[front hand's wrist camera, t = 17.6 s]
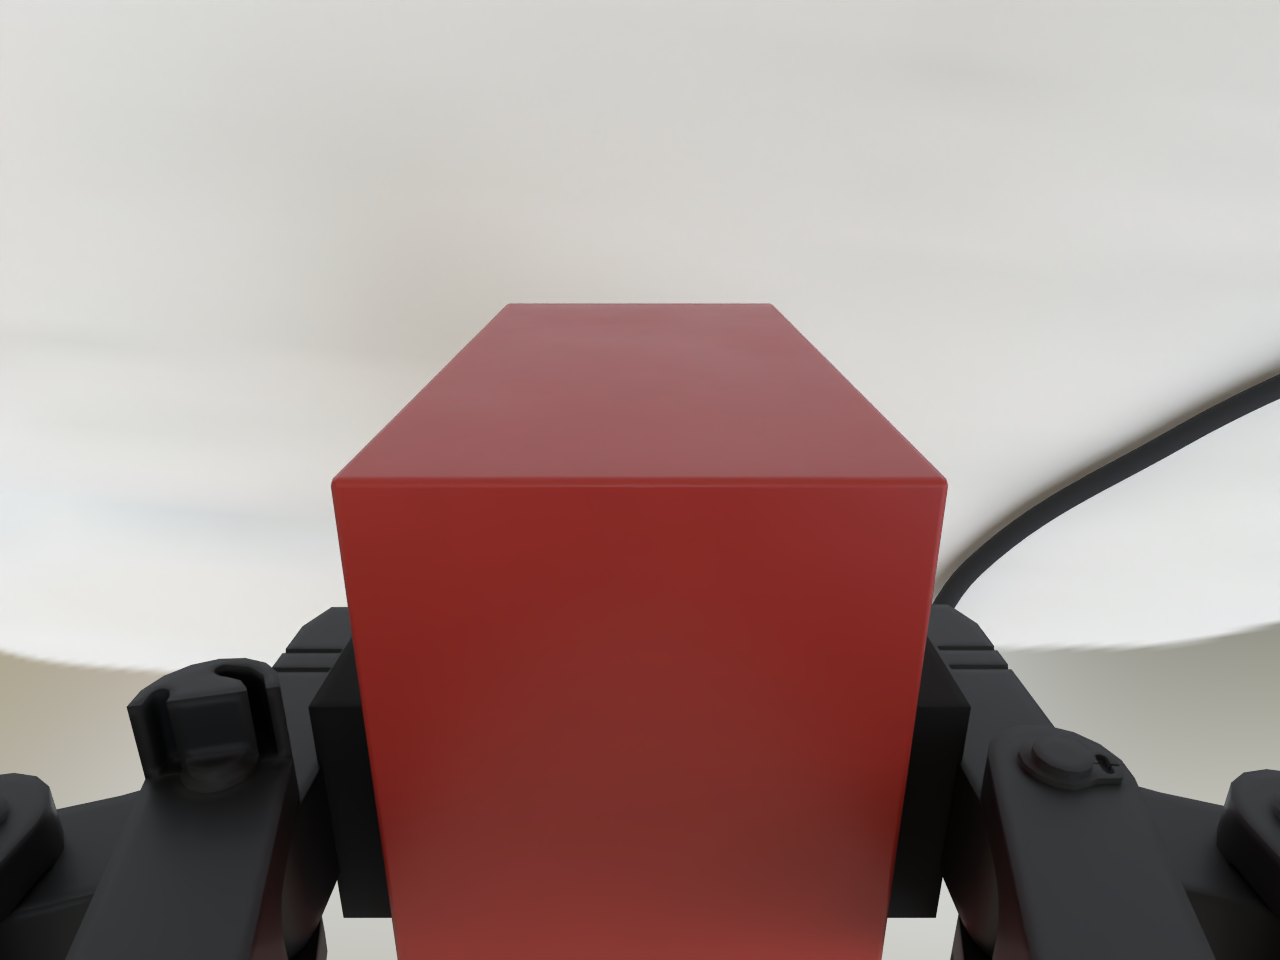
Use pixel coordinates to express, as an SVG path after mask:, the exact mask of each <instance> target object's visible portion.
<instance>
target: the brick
mask: <svg viewBox="0 0 1280 960" xmlns="http://www.w3.org/2000/svg"><path fill="white" fill-rule="evenodd" d="M947 489H948V484H947V480H946V478H945V477H944V476H943V475H942V474H941V473H940V472H939V471H938V470H937V469H936V468H935V467H934V466H933V465H932V464H931V463H930V462H929V461H928V460H927V459H926V458H925V457H924V456H923V455H922V454H921V453H920V452H919V451H918V450H917V449H916V448H915V447H914V446H913V445H912V444H911V443H910V442H909V441H908V440H907V439H906V438H905V437H904V436H903V435H902V434H901V433H900V432H899V431H898V430H897V429H896V428H895V427H894V426H893V425H892V424H891V423H890V422H889V421H888V420H887V419H886V418H885V417H884V416H883V415H882V414H881V413H880V412H879V411H878V410H877V409H876V408H875V407H874V406H873V405H872V404H871V403H870V402H869V401H868V400H867V399H866V398H865V397H864V396H863V395H862V394H861V393H860V392H859V391H858V390H857V389H856V388H855V387H854V386H853V385H852V384H851V383H850V382H849V381H848V380H847V379H846V378H845V377H844V376H843V375H842V374H841V373H840V372H839V371H838V370H837V369H836V368H835V367H834V366H833V365H832V364H831V363H830V362H829V361H828V360H827V359H826V358H825V357H824V356H823V355H822V354H821V353H820V352H819V351H818V350H817V349H816V348H815V347H814V346H813V345H812V344H811V343H810V342H809V341H808V340H807V339H806V338H805V337H804V336H803V335H802V334H801V333H800V332H799V331H798V330H797V329H796V328H795V327H794V326H793V325H792V324H791V323H790V322H789V321H788V320H787V319H786V318H785V317H784V316H783V315H782V314H781V313H780V312H779V311H778V310H777V309H776V308H775V307H774V306H773V305H772V304H508V305H506V306H505V307H504V308H503V309H502V310H501V311H500V312H499V313H498V314H497V315H496V316H495V317H494V318H493V319H492V320H491V321H490V322H489V323H488V324H487V325H486V326H485V327H484V328H483V329H482V330H481V331H480V332H479V333H478V334H477V335H476V336H475V337H474V338H473V339H472V340H471V341H470V342H469V343H468V344H467V345H466V346H465V347H464V348H463V349H462V350H461V351H460V352H459V353H458V354H457V355H456V356H455V357H454V358H453V359H452V360H451V361H450V362H449V363H448V364H447V365H446V366H445V367H444V368H443V369H442V370H441V371H440V372H439V373H438V374H437V375H436V376H435V377H434V378H433V379H432V380H431V381H430V382H429V383H428V384H427V385H426V386H425V387H424V388H423V389H422V390H421V391H420V392H419V393H418V394H417V395H416V396H415V397H414V398H413V399H412V400H411V401H410V402H409V403H408V404H407V405H406V406H405V407H404V408H403V409H402V410H401V411H400V412H399V413H398V414H397V415H396V416H395V417H394V418H393V419H392V420H391V421H390V422H389V423H388V424H387V425H386V426H385V427H384V428H383V429H382V430H381V431H380V432H379V433H378V434H377V435H376V436H375V437H374V438H373V439H372V440H371V441H370V442H369V443H368V444H367V445H366V446H365V447H364V448H363V449H362V450H361V451H360V452H359V453H358V454H357V455H356V456H355V457H354V458H353V459H352V460H351V461H350V462H349V463H348V464H347V465H346V466H345V467H344V468H343V469H342V470H341V471H340V472H339V473H338V474H337V475H336V476H335V477H334V478H333V480H332V483H331V490H332V497H333V504H334V511H335V518H336V525H337V532H338V539H339V547H340V554H341V561H342V568H343V575H344V582H345V589H346V596H347V603H348V610H349V617H350V625H351V632H352V639H353V646H354V653H355V660H356V667H357V674H358V681H359V688H360V696H361V703H362V710H363V717H364V724H365V731H366V738H367V745H368V752H369V759H370V766H371V774H372V781H373V788H374V795H375V802H376V809H377V816H378V823H379V830H380V837H381V845H382V852H383V859H384V866H385V873H386V880H387V887H388V894H389V901H390V908H391V915H392V923H393V930H394V937H395V944H396V951H397V958H398V960H881V959H882V952H883V944H884V937H885V930H886V923H887V916H888V909H889V902H890V895H891V888H892V880H893V873H894V866H895V859H896V852H897V845H898V838H899V831H900V824H901V816H902V809H903V802H904V795H905V788H906V781H907V774H908V767H909V759H910V752H911V745H912V738H913V731H914V724H915V717H916V710H917V702H918V695H919V688H920V681H921V674H922V667H923V660H924V653H925V645H926V638H927V631H928V624H929V617H930V610H931V603H932V596H933V589H934V581H935V574H936V567H937V560H938V553H939V546H940V539H941V532H942V524H943V517H944V510H945V503H946V496H947Z"/></svg>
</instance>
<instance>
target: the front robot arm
mask: <svg viewBox="0 0 1280 960" xmlns="http://www.w3.org/2000/svg"><path fill="white" fill-rule="evenodd" d="M1278 399H1280V374H1279V375H1277V376H1275V377H1273V378H1271V379H1268V380H1266V381H1264V382H1262V383H1260V384H1258V385H1256V386H1254V387H1252V388H1249V389H1247V390H1245V391H1243V392H1241V393H1239V394H1237V395H1235V396H1233V397H1231V398H1229V399H1227V400H1225V401H1223V402H1221V403H1219V404H1217V405H1215V406H1213V407H1211V408H1209V409H1208V410H1206V411H1204V412H1202V413H1200V414H1198V415H1196V416H1194V417H1193V418H1191V419H1189V420H1187V421H1185V422H1184V423H1182V424H1180V425H1178V426H1176V427H1175V428H1173V429H1171V430H1169V431H1168V432H1166V433H1164V434H1162V435H1161V436H1159V437H1157V438H1155V439H1153V440H1152V441H1150V442H1148V443H1146V444H1144V445H1142V446H1141V447H1139V448H1137V449H1135V450H1133V451H1131V452H1130V453H1128V454H1126V455H1124V456H1122V457H1120V458H1118V459H1117V460H1115V461H1113V462H1111V463H1109V464H1107V465H1105V466H1104V467H1102V468H1100V469H1098V470H1096V471H1094V472H1092V473H1091V474H1089V475H1087V476H1085V477H1083V478H1082V479H1080V480H1078V481H1076V482H1074V483H1073V484H1071V485H1069V486H1067V487H1066V488H1064V489H1062V490H1060V491H1059V492H1057V493H1055V494H1054V495H1052V496H1050V497H1049V498H1047V499H1045V500H1044V501H1042V502H1041V503H1039V504H1038V505H1036V506H1034V507H1033V508H1031V509H1030V510H1028V511H1027V512H1026V513H1024V514H1023V515H1021V516H1020V517H1018V518H1017V519H1015V520H1014V521H1013V522H1011V523H1010V524H1009V525H1007V526H1006V527H1005V528H1003V529H1002V530H1001V531H999V532H998V533H997V534H996V535H994V536H993V537H992V538H991V539H990V540H988V541H987V542H986V543H985V544H984V545H982V546H981V547H980V548H979V549H978V550H977V551H976V552H975V553H973V554H972V555H971V556H970V557H969V558H968V559H967V560H966V561H965V562H964V563H963V564H962V565H961V566H960V567H959V568H958V569H957V570H956V571H955V572H954V573H953V575H952V576H951V577H950V578H949V580H948V581H947V582H946V584H945V585H944V586H943V588H942V589H941V591H940V593H939V594H938V596H937V597H936V599H935V601H934V602H933V604H932V605H931V610H930V617H929V624H928V631H927V638H926V645H925V653H924V660H923V667H922V674H921V681H920V688H919V695H918V702H917V710H916V717H915V724H914V731H913V738H912V745H911V752H910V759H909V767H908V774H907V781H906V788H905V795H904V802H903V809H902V816H901V824H900V831H899V838H898V845H897V852H896V859H895V866H894V873H893V880H892V888H891V895H890V902H889V909H888V916H887V918H936V913H937V907H938V901H939V895H940V889H941V883H942V878H944V881H945V883H946V886H947V888H948V890H949V893H950V895H951V897H952V899H953V902H954V904H955V907H956V909H957V911H958V914H959V915H958V920H957V926H956V931H955V937H954V942H953V948H952V954H951V959H950V960H1280V771H1276V770H1269V769H1265V770H1258V771H1251V772H1244V773H1243V774H1241V775H1240V776H1239V777H1238V778H1236V779H1235V780H1234V781H1233V782H1232V783H1231V785H1230V788H1229V792H1228V795H1227V798H1226V801H1225V804H1224V806H1222V805H1217V804H1212V803H1207V802H1203V801H1198V800H1193V799H1189V798H1183V797H1179V796H1174V795H1169V794H1165V793H1160V792H1156V791H1153V790H1149V789H1146V788H1142V787H1138V784H1137V782H1136V780H1135V778H1134V777H1133V775H1132V774H1131V772H1130V771H1129V770H1128V768H1127V767H1126V766H1125V764H1124V763H1123V762H1122V760H1120V759H1119V758H1118V757H1116V756H1115V755H1114V754H1112V753H1111V752H1110V751H1108V750H1107V749H1106V748H1104V747H1103V746H1102V745H1100V744H1098V743H1096V742H1094V741H1092V740H1090V739H1087V738H1085V737H1083V736H1081V735H1079V734H1076V733H1074V732H1071V731H1067V730H1063V729H1058V728H1055V727H1054V726H1053V724H1052V723H1051V722H1050V720H1049V719H1048V718H1047V716H1046V715H1045V714H1044V712H1043V711H1042V710H1041V708H1040V707H1039V706H1038V704H1037V703H1036V702H1035V700H1034V699H1033V698H1032V696H1031V695H1030V694H1029V692H1028V691H1027V690H1026V688H1025V687H1024V686H1023V684H1022V683H1021V682H1020V680H1019V679H1018V678H1017V676H1016V675H1015V674H1014V672H1013V671H1012V670H1011V669H1008V664H1007V663H1006V661H1005V660H1004V659H1003V658H1002V656H1001V655H1000V654H999V652H998V651H997V650H994V645H993V644H992V643H991V641H990V640H989V639H988V637H987V636H986V635H985V633H984V632H983V631H982V629H981V628H980V627H979V625H978V624H977V623H975V622H974V621H972V620H971V619H969V618H968V617H966V616H965V615H963V614H962V613H960V612H959V611H957V610H956V609H954V608H955V606H956V605H957V603H958V602H959V600H960V599H961V597H962V596H963V594H964V593H965V592H966V590H967V589H968V588H969V587H970V585H971V584H972V583H973V582H974V581H975V580H976V579H977V578H978V577H979V576H980V575H981V574H982V573H983V572H984V571H985V570H987V569H988V568H989V567H990V566H991V565H992V564H993V563H994V562H996V561H997V560H998V559H999V558H1000V557H1002V556H1003V555H1004V554H1005V553H1007V552H1008V551H1009V550H1010V549H1011V548H1013V547H1014V546H1015V545H1017V544H1018V543H1019V542H1021V541H1022V540H1023V539H1025V538H1026V537H1027V536H1029V535H1030V534H1032V533H1033V532H1035V531H1036V530H1038V529H1039V528H1041V527H1042V526H1044V525H1045V524H1047V523H1048V522H1050V521H1051V520H1053V519H1055V518H1056V517H1058V516H1059V515H1061V514H1063V513H1064V512H1066V511H1068V510H1070V509H1071V508H1073V507H1075V506H1076V505H1078V504H1080V503H1082V502H1084V501H1085V500H1087V499H1089V498H1091V497H1093V496H1094V495H1096V494H1098V493H1100V492H1102V491H1104V490H1105V489H1107V488H1109V487H1111V486H1113V485H1115V484H1117V483H1119V482H1121V481H1122V480H1124V479H1126V478H1128V477H1130V476H1132V475H1134V474H1136V473H1137V472H1139V471H1141V470H1143V469H1145V468H1147V467H1149V466H1151V465H1152V464H1154V463H1156V462H1158V461H1160V460H1162V459H1163V458H1165V457H1167V456H1169V455H1171V454H1172V453H1174V452H1176V451H1178V450H1180V449H1181V448H1183V447H1185V446H1187V445H1189V444H1190V443H1192V442H1194V441H1196V440H1198V439H1199V438H1201V437H1203V436H1205V435H1207V434H1209V433H1210V432H1212V431H1214V430H1216V429H1218V428H1220V427H1222V426H1224V425H1226V424H1228V423H1230V422H1232V421H1234V420H1236V419H1238V418H1240V417H1242V416H1244V415H1246V414H1248V413H1250V412H1252V411H1254V410H1256V409H1258V408H1261V407H1263V406H1265V405H1267V404H1269V403H1271V402H1273V401H1275V400H1278ZM127 710H128V713H129V717H130V721H131V725H132V729H133V733H134V737H135V741H136V744H137V748H138V752H139V756H140V760H141V764H142V767H143V771H144V775H145V781H144V784H143V786H142V788H141V790H140V791H136V792H133V793H129V794H126V795H122V796H118V797H113V798H108V799H104V800H99V801H94V802H90V803H85V804H80V805H75V806H71V807H66V808H61V809H57V810H56V807H55V804H54V800H53V797H52V794H51V791H50V788H49V786H48V785H46V784H45V783H44V782H43V781H42V780H40V779H39V778H38V777H37V776H31V775H24V774H17V773H10V774H2V775H0V960H326V958H327V945H326V938H325V931H324V926H323V920H322V914H323V912H324V909H325V907H326V905H327V902H328V900H329V898H330V895H331V893H332V891H333V888H334V886H335V884H336V881H338V887H339V893H340V899H341V905H342V911H343V917H344V918H392V915H391V908H390V901H389V894H388V887H387V880H386V873H385V866H384V859H383V852H382V845H381V837H380V830H379V823H378V816H377V809H376V802H375V795H374V788H373V781H372V774H371V766H370V759H369V752H368V745H367V738H366V731H365V724H364V717H363V710H362V703H361V696H360V688H359V681H358V674H357V667H356V660H355V653H354V646H353V639H352V632H351V625H350V617H349V610H348V607H331V608H330V609H328V610H327V611H325V612H324V613H322V614H321V615H319V616H318V617H316V618H315V619H313V620H312V621H310V622H309V623H307V624H306V625H304V626H303V627H302V628H301V629H300V631H299V632H298V633H297V635H296V636H295V637H294V639H293V640H292V641H291V643H290V644H289V645H288V647H287V648H286V653H282V655H281V656H280V658H279V659H278V660H277V662H276V663H275V664H274V666H273V667H270V666H269V665H268V664H267V663H264V662H260V661H256V660H251V659H247V658H234V659H217V660H212V661H208V662H203V663H198V664H194V665H190V666H188V667H185V668H183V669H180V670H178V671H175V672H173V673H170V674H168V675H165V676H163V677H161V678H160V679H158V680H157V681H155V682H154V683H152V684H151V685H149V686H147V687H146V688H144V689H143V690H141V691H140V692H139V694H138V695H137V696H136V697H135V698H134V699H133V700H132V702H131V703H130V704H129V705H128V706H127Z"/></svg>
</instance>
